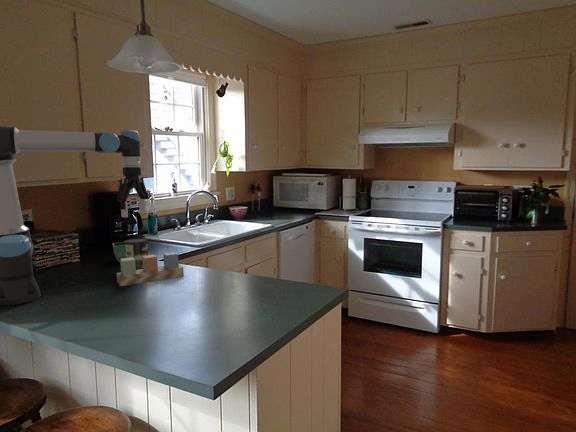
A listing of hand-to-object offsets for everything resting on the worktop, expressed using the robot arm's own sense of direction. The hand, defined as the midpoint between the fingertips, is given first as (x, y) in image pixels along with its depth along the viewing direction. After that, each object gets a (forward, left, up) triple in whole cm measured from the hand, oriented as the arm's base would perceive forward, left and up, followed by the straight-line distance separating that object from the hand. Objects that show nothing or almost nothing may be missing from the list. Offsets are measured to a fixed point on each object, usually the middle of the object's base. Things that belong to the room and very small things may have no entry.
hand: (134, 215), depth 193 cm
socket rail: (+3, -12, -27) cm, 29 cm away
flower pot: (0, +32, -27) cm, 42 cm away
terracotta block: (+3, -12, -24) cm, 27 cm away
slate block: (+12, -12, -24) cm, 29 cm away
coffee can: (+2, +8, -27) cm, 28 cm away
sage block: (-6, -12, -24) cm, 27 cm away
